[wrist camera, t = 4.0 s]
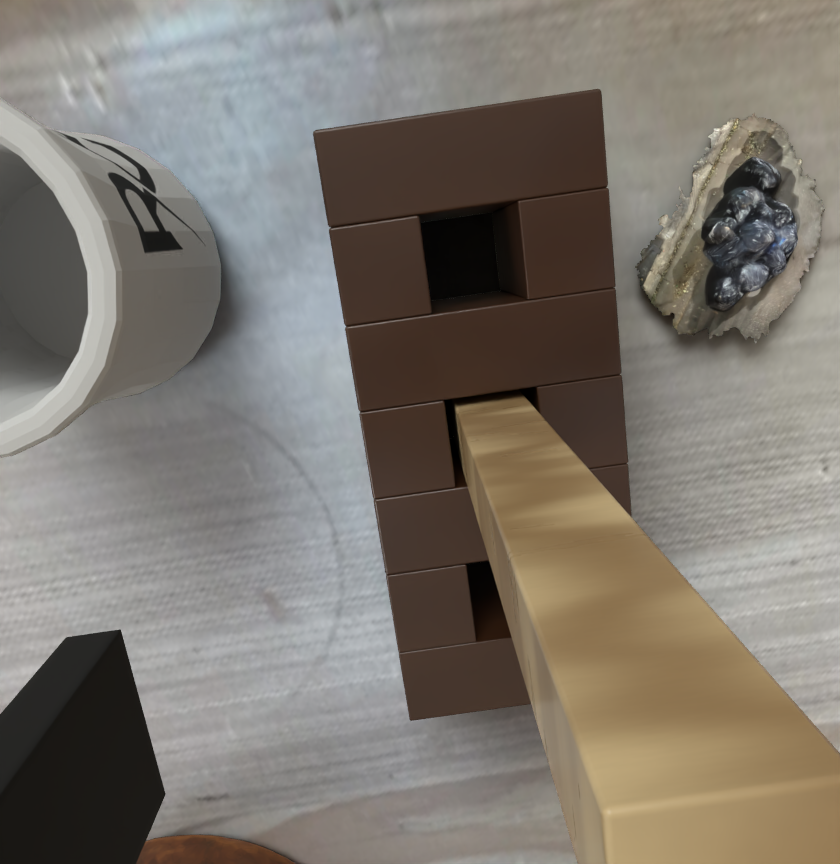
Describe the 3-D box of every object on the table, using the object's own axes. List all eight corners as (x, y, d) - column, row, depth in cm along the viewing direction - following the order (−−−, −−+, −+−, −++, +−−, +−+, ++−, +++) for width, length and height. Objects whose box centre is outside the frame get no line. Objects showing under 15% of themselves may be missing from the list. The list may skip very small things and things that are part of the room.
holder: (332, 158, 25) (312, 130, 19) (555, 126, 25) (601, 87, 19) (408, 630, 30) (409, 721, 24) (596, 603, 30) (644, 688, 24)
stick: (500, 367, 27) (865, 777, 6) (506, 422, 28) (863, 982, 6) (443, 375, 27) (601, 812, 6) (450, 430, 28) (619, 1014, 6)
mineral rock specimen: (620, 330, 27) (636, 335, 25) (656, 103, 25) (676, 91, 23) (792, 345, 27) (820, 352, 25) (840, 123, 25) (875, 112, 24)
